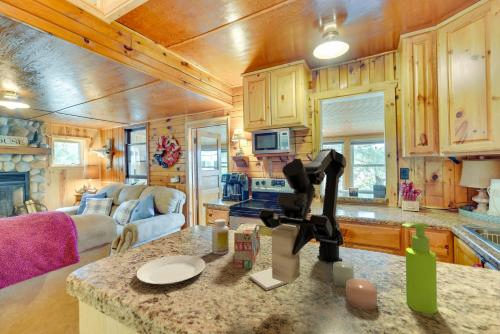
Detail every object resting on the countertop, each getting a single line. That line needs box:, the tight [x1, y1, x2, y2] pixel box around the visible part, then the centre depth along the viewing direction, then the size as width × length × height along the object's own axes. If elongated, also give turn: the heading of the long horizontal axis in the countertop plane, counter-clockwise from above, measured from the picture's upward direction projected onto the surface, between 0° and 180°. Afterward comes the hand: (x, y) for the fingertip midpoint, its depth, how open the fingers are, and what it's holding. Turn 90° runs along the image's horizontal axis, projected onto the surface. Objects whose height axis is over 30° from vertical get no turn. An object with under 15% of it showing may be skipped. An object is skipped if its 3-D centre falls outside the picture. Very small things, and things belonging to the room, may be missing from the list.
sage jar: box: [332, 261, 355, 288], centre depth 67 cm, size 6×6×5 cm
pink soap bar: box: [345, 278, 378, 311], centre depth 57 cm, size 7×7×4 cm
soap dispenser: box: [401, 221, 438, 315], centre depth 55 cm, size 6×7×20 cm
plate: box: [136, 254, 206, 286], centre depth 74 cm, size 21×21×2 cm
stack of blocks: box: [233, 223, 261, 270], centre depth 87 cm, size 21×6×12 cm, turn 170°
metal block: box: [271, 224, 301, 285], centre depth 56 cm, size 5×5×12 cm
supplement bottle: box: [211, 218, 230, 256], centre depth 92 cm, size 7×7×13 cm
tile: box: [248, 267, 287, 291], centre depth 69 cm, size 9×9×1 cm
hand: (283, 251), depth 55 cm, fingers closed on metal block, 5 cm apart
